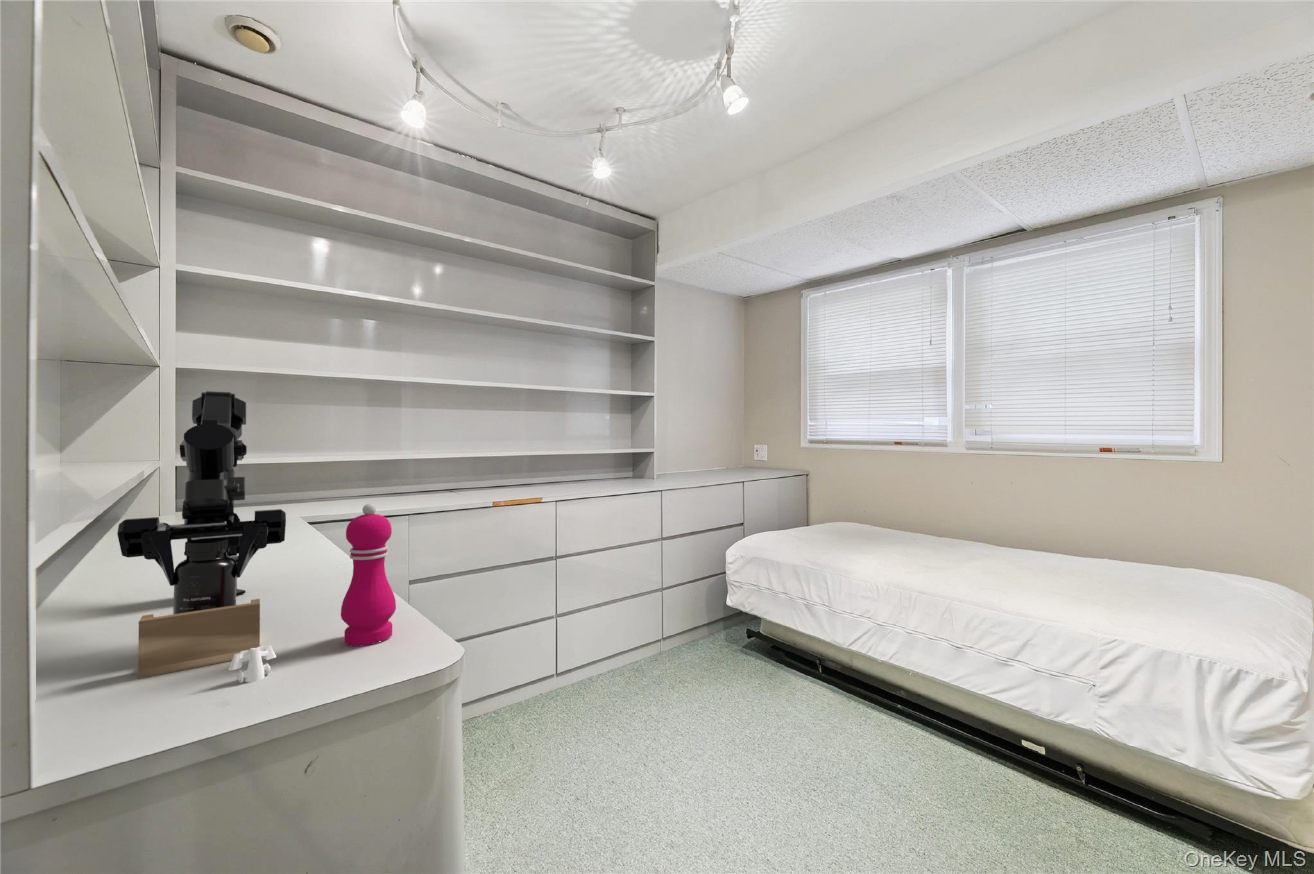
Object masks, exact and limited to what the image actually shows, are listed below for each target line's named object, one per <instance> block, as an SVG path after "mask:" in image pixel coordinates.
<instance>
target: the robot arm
mask: <svg viewBox="0 0 1314 874" xmlns="http://www.w3.org/2000/svg"><path fill="white" fill-rule="evenodd" d="M191 402H192V404H191V405H192V406H191V420H192V424H193V425H194V426H192V427H190V428H188V429H187V430H186V432H184V433H183V440H182V441H181V443H180V444H179V455H180V459H181V460H182V462H185V464H186V468H187V470H188V480H187V481H186V482H185V488H184V500H183V502H182V512H181V516H182V517H181V519H182V520H183V523H181V524H169V523H166V522H160V517H159V516H152V517H151V516H149V517H137V518H136V517H135V518H125V519H124V520H122V521H121V522H120V523H119V524H118V529H117V532H116V533H117V535H116V536H117V538H118V539H117V540H118V543H119V549H120V552H121V556H122V557H126V558H137V557H143V558H144V559H146V560H153V561H155V563H156V564H157V565H158V566H159V567H160V568H161V569H162V571H163V573H164V575H165V578H166V580H167V582H168V584H169V586H171V587H174V576H175V566H174V557H173V549H172V541H174V540H175V541H176V540H186V542H187V541H190V540H196V539H204V538H228V539H229V551H228V552H227V555H228V556H230V557H232V558H234V559H235V560H236V562H237V579H238V578H241V576H242V574H243V573H244V571H245V569H246V567H247V566H248V564H249V562H250V561H251V559H252V558H253V557H254V555H255V554H256V553H257V552H258V551H259V550H260V549H261V550H262V549H265V548H267V546H268V545H272V544H273V545H274V544H281V543H283V542H285V539H286V523H287V516H286V515H287V514H286V512H285V511H284V509H282V508H278V509H276V508H275V509H262V510H254V520H241V519H240V517H239V515H238V514H237V513H235V512H234V511H235V510H234V509H235V501H245V500H246V477H245V476H235V474H236V472H235V469H234V468H236V467H238V461H243V460H244V459H245V457H244V456H246V455H247V451H248V450H247V449H248V447H247V445H246V444H244V443H245V442H243V439H240V438H241V437H242V435H243V425H244V426H246V425H247V402H246V401H244V400H242V399H240V398H238V397H236V393H232V392H230V391H213V390H212V391H211V390H207V391H205V392H201V393H200V396H199V397H198V398H195V399H193V400H192V401H191ZM239 439H240V440H239ZM237 587H238V583H237V584H236V596H239V595H243V594H246V590H245V589H239V588H237Z"/></svg>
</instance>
